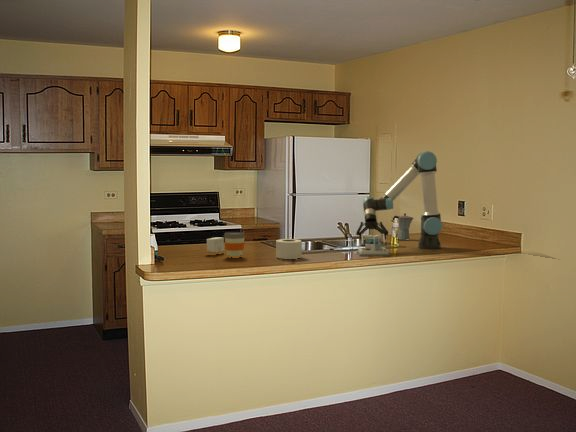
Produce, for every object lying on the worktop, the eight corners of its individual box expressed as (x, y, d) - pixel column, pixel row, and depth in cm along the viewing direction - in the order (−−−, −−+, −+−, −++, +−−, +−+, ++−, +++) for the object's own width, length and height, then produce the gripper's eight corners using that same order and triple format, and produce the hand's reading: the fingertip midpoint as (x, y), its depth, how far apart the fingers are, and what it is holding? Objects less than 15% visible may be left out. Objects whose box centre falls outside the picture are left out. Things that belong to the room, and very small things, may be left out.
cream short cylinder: (306, 258, 379) (306, 240, 378) (287, 260, 368) (287, 242, 368) (289, 255, 390) (289, 238, 389) (270, 257, 380) (270, 240, 379)
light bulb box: (374, 253, 389) (374, 236, 388) (364, 253, 392) (364, 235, 391) (381, 251, 398) (381, 234, 397) (371, 250, 401) (371, 234, 400)
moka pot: (413, 240, 463) (413, 213, 461) (392, 240, 466) (392, 213, 464) (413, 239, 472) (413, 212, 470) (392, 239, 475) (392, 212, 473)
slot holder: (385, 251, 405) (385, 247, 404) (390, 256, 386) (390, 251, 385) (356, 251, 405) (356, 247, 404) (359, 256, 386) (359, 251, 385)
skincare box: (216, 253, 401) (215, 236, 400) (224, 253, 398) (224, 237, 397) (206, 255, 392) (206, 238, 391) (214, 255, 389) (214, 239, 388)
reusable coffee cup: (221, 256, 385) (221, 232, 384) (241, 255, 390) (240, 231, 389) (228, 259, 373) (227, 234, 372) (247, 258, 378) (247, 233, 377)
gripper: (388, 220, 409) (392, 246, 396) (350, 220, 409) (353, 246, 396) (390, 213, 404) (394, 239, 390) (351, 213, 404) (354, 239, 390)
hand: (373, 243), depth 393 cm, fingers open, 13 cm apart
